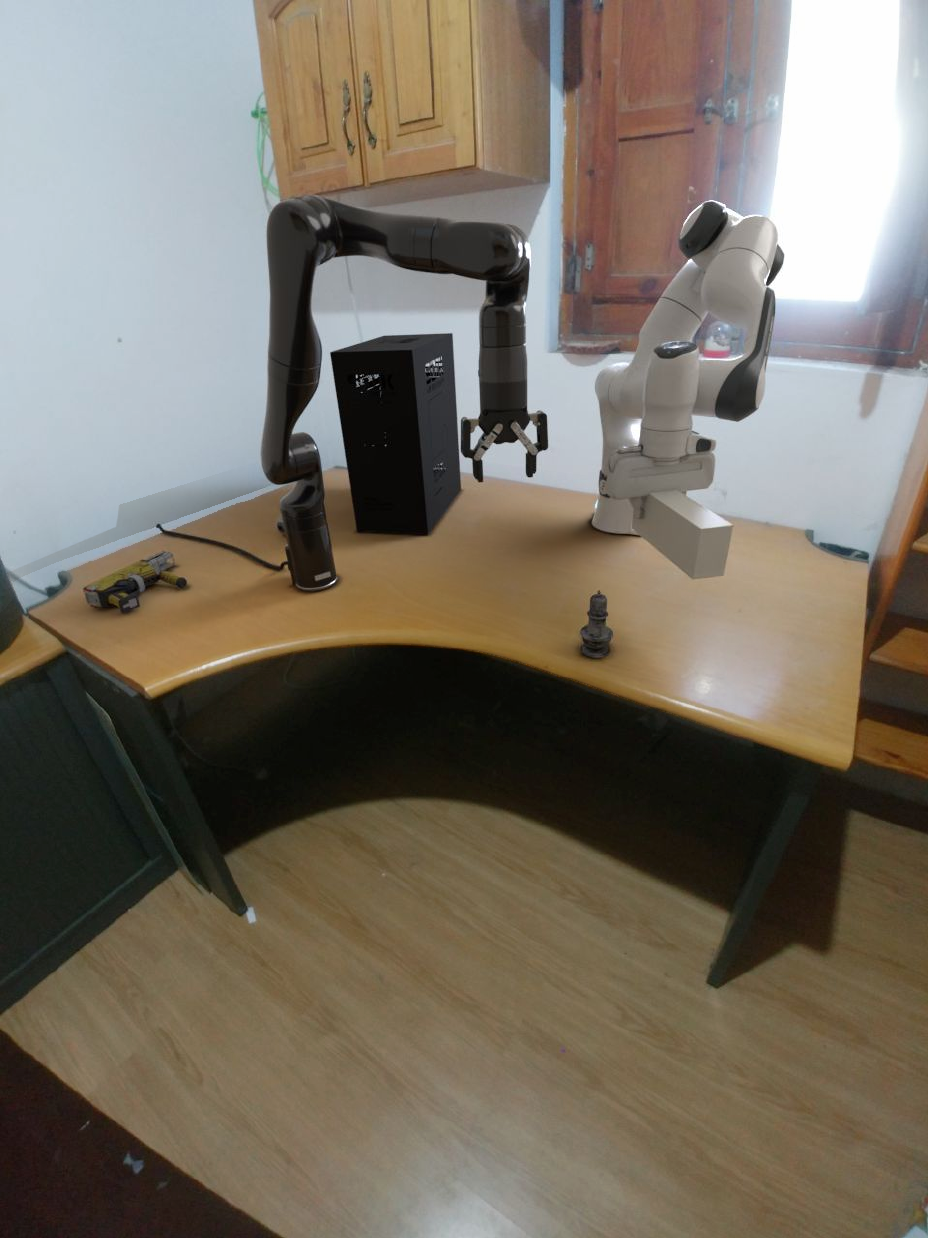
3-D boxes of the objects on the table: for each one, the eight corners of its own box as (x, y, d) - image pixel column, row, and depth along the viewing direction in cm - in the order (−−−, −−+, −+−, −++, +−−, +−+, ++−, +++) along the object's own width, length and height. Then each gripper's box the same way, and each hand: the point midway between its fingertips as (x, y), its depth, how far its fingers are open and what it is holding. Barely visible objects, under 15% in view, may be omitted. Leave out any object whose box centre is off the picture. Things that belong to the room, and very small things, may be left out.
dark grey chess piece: (612, 659, 105) (617, 599, 99) (577, 657, 106) (581, 597, 100) (611, 641, 110) (616, 582, 104) (579, 639, 111) (582, 581, 105)
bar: (631, 528, 119) (635, 484, 115) (657, 524, 120) (663, 481, 116) (692, 579, 99) (700, 528, 95) (723, 575, 100) (733, 524, 95)
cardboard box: (428, 534, 159) (412, 349, 137) (356, 531, 164) (329, 352, 141) (461, 489, 191) (452, 333, 168) (400, 488, 195) (384, 335, 173)
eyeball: (273, 537, 164) (268, 516, 161) (287, 528, 169) (282, 508, 166) (291, 539, 161) (286, 518, 158) (305, 530, 166) (301, 510, 163)
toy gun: (211, 559, 145) (160, 548, 149) (132, 601, 125) (76, 587, 129) (214, 576, 147) (164, 565, 151) (137, 620, 127) (82, 606, 131)
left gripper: (462, 383, 90) (467, 489, 98) (554, 376, 91) (552, 480, 99) (454, 376, 96) (459, 476, 104) (540, 369, 98) (539, 468, 106)
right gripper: (617, 452, 103) (611, 528, 110) (725, 440, 107) (712, 514, 114) (602, 444, 109) (597, 516, 116) (705, 432, 112) (694, 503, 119)
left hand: (504, 478), depth 102 cm, fingers open, 8 cm apart
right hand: (655, 515), depth 115 cm, fingers closed on bar, 5 cm apart
